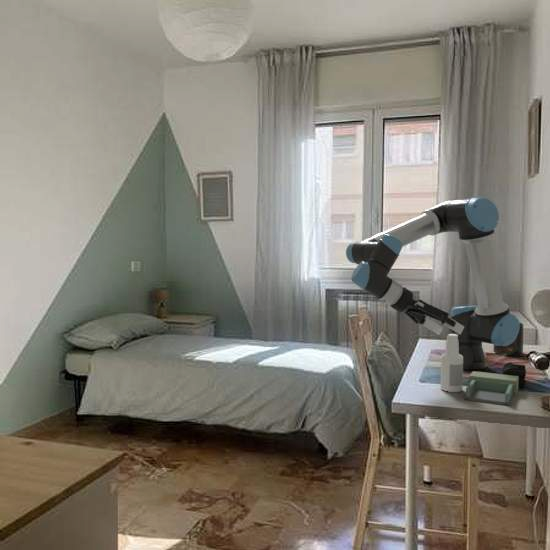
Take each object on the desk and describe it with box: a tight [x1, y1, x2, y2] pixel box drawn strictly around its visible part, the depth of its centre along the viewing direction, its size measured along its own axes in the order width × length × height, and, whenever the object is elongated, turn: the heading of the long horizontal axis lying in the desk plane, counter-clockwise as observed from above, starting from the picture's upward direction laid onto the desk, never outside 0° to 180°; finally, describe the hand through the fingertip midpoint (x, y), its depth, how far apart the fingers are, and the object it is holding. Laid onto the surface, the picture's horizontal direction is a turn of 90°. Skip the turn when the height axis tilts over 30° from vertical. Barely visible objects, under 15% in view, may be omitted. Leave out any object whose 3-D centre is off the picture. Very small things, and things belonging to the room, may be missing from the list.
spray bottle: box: [440, 333, 464, 393], centre depth 176 cm, size 7×7×18 cm
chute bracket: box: [463, 370, 519, 406], centre depth 171 cm, size 20×14×4 cm
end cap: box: [501, 361, 527, 390], centre depth 183 cm, size 10×7×7 cm
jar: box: [493, 317, 524, 356], centre depth 234 cm, size 12×12×15 cm
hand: (451, 331), depth 175 cm, fingers open, 13 cm apart
